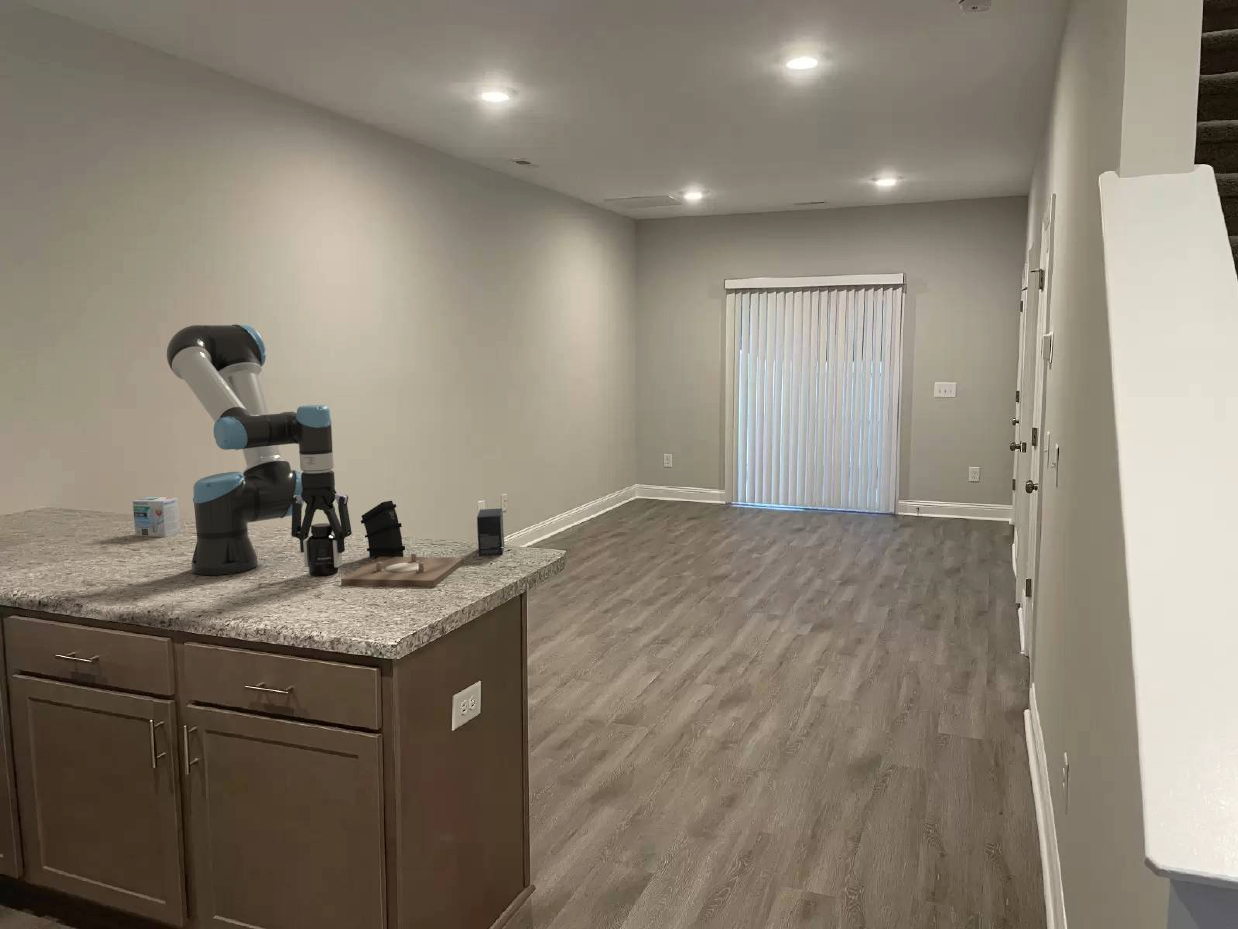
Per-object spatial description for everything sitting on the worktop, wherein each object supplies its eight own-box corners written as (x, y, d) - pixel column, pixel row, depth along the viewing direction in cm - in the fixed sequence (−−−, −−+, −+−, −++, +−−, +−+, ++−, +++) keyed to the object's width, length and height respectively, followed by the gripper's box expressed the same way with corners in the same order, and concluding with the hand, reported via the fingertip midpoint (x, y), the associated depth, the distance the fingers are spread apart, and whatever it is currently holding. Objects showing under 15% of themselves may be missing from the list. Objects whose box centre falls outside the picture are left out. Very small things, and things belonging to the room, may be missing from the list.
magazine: (400, 557, 230) (381, 501, 232) (373, 573, 238) (355, 519, 240) (413, 555, 233) (394, 499, 235) (385, 570, 241) (367, 516, 243)
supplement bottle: (322, 578, 217) (319, 528, 216) (302, 575, 221) (299, 526, 219) (345, 572, 223) (342, 523, 222) (325, 569, 227) (322, 521, 225)
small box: (480, 547, 248) (478, 508, 246) (504, 546, 248) (503, 507, 247) (477, 556, 237) (475, 516, 236) (503, 555, 238) (501, 515, 236)
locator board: (341, 585, 211) (340, 570, 211) (379, 562, 233) (378, 548, 232) (434, 587, 208) (433, 571, 207) (464, 563, 229) (463, 549, 229)
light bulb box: (134, 536, 273) (131, 500, 271) (150, 531, 279) (147, 496, 278) (166, 537, 270) (162, 500, 269) (181, 532, 277) (178, 497, 275)
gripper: (270, 473, 217) (277, 569, 220) (350, 473, 214) (356, 570, 217) (286, 468, 224) (292, 561, 227) (363, 468, 221) (369, 562, 224)
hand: (323, 565), depth 222 cm, fingers closed on supplement bottle, 7 cm apart
